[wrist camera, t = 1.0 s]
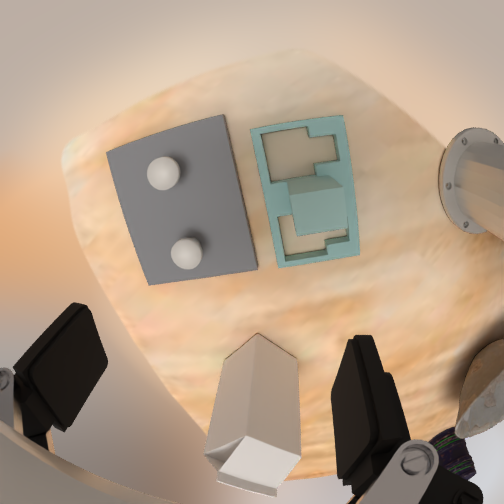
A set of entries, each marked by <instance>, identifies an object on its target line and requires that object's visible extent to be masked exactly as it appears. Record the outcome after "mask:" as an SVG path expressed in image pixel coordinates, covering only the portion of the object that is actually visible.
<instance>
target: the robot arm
mask: <svg viewBox="0 0 504 504" xmlns="http://www.w3.org/2000/svg"><path fill="white" fill-rule="evenodd" d="M439 189H440V196H441V201H442V204H443V207H444V209H445V212H446V214H447V216H448V217H449V218H450V220H451V221H452V222H453V223H454V224H455V225H456V226H457V227H458V228H460V229H461V230H463V231H465V232H468V233H470V234H480V233H484V232H487V231H489V232H491V233H492V234H494V235H495V236H497V237H498V238H500V239H501V240H503V241H504V143H503V142H502V141H501V140H500V139H499V138H498V137H497V135H495V134H494V133H493V132H491V131H489V130H487V129H482V128H469V129H465V130H463V131H462V132H460V133H458V134H457V135H456V136H455V137H454V138H453V139H452V140H451V142H450V143H449V145H448V146H447V149H446V151H445V153H444V155H443V159H442V162H441V166H440V174H439ZM107 365H108V359H107V356H106V353H105V351H104V348H103V345H102V343H101V340H100V337H99V334H98V331H97V328H96V325H95V322H94V319H93V316H92V313H91V311H90V310H89V309H88V306H87V305H84V304H80V303H72V304H71V305H70V306H69V307H67V308H66V310H65V311H64V312H63V313H62V314H61V315H60V316H59V317H58V318H57V319H56V320H55V321H54V322H53V323H52V324H51V325H50V326H49V327H48V328H47V329H46V330H45V331H44V332H43V334H42V335H41V336H40V337H39V338H38V339H37V340H36V341H35V342H34V343H33V344H32V346H31V347H30V348H29V349H28V350H27V351H26V352H25V353H24V355H23V356H22V357H21V358H20V359H19V360H18V362H17V363H16V364H15V365H14V366H13V369H14V370H15V372H16V373H15V375H14V374H13V373H12V371H11V370H10V369H8V368H0V504H181V503H177V502H173V501H169V500H165V499H162V498H158V497H155V496H151V495H148V494H145V493H142V492H139V491H136V490H133V489H130V488H127V487H125V486H122V485H119V484H117V483H114V482H112V481H109V480H106V479H104V478H102V477H100V476H97V475H95V474H93V473H90V472H88V471H86V470H84V469H82V468H80V467H78V466H76V465H74V464H72V463H70V462H68V461H66V460H64V459H62V458H60V457H58V456H57V455H55V450H54V445H53V441H52V435H51V429H50V428H51V426H52V425H53V426H54V427H55V428H57V429H59V430H61V431H63V432H65V431H66V429H67V427H70V426H71V425H72V423H73V422H74V420H75V418H76V417H77V415H78V413H79V412H80V410H81V408H82V407H83V405H84V403H85V402H86V400H87V398H88V396H89V395H90V393H91V391H92V390H93V388H94V387H95V385H96V384H97V382H98V380H99V379H100V377H101V375H102V374H103V372H104V371H105V369H106V368H107ZM331 404H332V414H333V425H334V436H335V449H336V463H337V476H338V479H343V486H345V485H352V493H353V494H354V495H353V497H352V498H351V499H350V500H349V501H348V502H347V504H483V494H482V491H481V489H480V488H479V487H478V486H477V485H476V484H474V483H472V482H470V481H468V480H466V479H464V478H462V477H460V476H458V475H457V474H455V473H453V472H451V471H449V470H447V469H446V468H444V467H442V466H440V465H438V464H439V456H438V454H437V451H436V449H435V448H434V447H433V446H432V445H431V444H430V443H428V442H426V441H423V440H411V438H410V434H409V430H408V427H407V423H406V419H405V416H404V412H403V409H402V406H401V402H400V399H399V396H398V392H397V389H396V386H395V383H394V380H393V377H392V375H391V374H390V373H389V372H384V370H383V366H382V363H381V360H380V357H379V354H378V351H377V348H376V345H375V342H374V339H373V337H372V336H371V335H355V336H354V338H353V339H349V340H348V342H347V345H346V348H345V352H344V355H343V358H342V361H341V364H340V367H339V370H338V373H337V376H336V379H335V382H334V385H333V388H332V391H331Z"/></svg>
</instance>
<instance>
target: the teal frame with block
mask: <svg viewBox="0 0 504 504" xmlns="http://www.w3.org/2000/svg"><path fill="white" fill-rule="evenodd" d="M305 126H307V131H308V136H309V137H317V136H325V135H333V137H334V143H335V149H336V155H337V160H334V161H327V162H320V163H313V164H314V170H315V175H309V176H302V177H296V178H290V179H284V180H278V181H273V182H271V180H270V175H269V171H268V166H267V161H266V156H265V151H264V147H263V142H262V137H261V134H263V133H269V132H274V131H280V130H286V129H292V128H298V127H305ZM250 132H251V136H252V141H253V146H254V150H255V155H256V160H257V164H258V169H259V174H260V178H261V183H262V188H263V193H264V198H265V203H266V207H267V212H268V217H269V222H270V227H271V232H272V237H273V243H274V248H275V253H276V258H277V263H278V268H284V267H290V266H296V265H302V264H309V263H315V262H321V261H327V260H333V259H339V258H345V257H351V256H357V255H360V245H359V230H358V218H357V208H356V198H355V189H354V181H353V173H352V166H351V159H350V152H349V146H348V140H347V134H346V129H345V123H344V118H343V115H339V116H330V117H322V118H314V119H307V120H300V121H294V122H288V123H282V124H276V125H270V126H265V127H260V128H255V129H250ZM291 214H293V219H294V224H295V230H296V235H297V236H302V235H308V234H314V233H320V232H327V231H333V230H339V229H345V228H346V234H347V236H345V237H339V238H333V239H327V240H325V247H326V250H320V251H314V252H307V253H301V254H295V255H289V256H285V254H284V248H283V243H282V237H281V232H280V227H279V221H278V217H279V216H285V215H291Z"/></svg>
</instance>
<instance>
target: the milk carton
mask: <svg viewBox="0 0 504 504" xmlns="http://www.w3.org/2000/svg"><path fill="white" fill-rule="evenodd" d="M204 455H205V457H206V458H207V459H208V460H209V462H210V463H211V464H212V465H213V467H214V468H215V469H216V470H217V471H218V473H217V478H216V481H217V482H220V483H223V484H226V485H230V486H233V487H236V488H239V489H243V490H247V491H250V492H254V493H258V494H262V495H266V496H270V497H276V495H277V488H278V487H279V486H280V484H281V483H282V482H283V481H284V479H285V478H286V477H287V476H288V474H289V473H290V472H291V471H292V469H293V468H294V467H295V465H296V464H297V463H298V461H299V460H300V459H301V428H300V402H299V381H298V363H297V359H296V358H294V357H293V356H291V355H290V354H288V353H287V352H285V351H284V350H282V349H281V348H279V347H278V346H276V345H275V344H273V343H272V342H270V341H269V340H267V339H266V338H264V337H263V336H261V335H259V334H256V335H255V336H254V337H252V338H251V339H250V340H249V341H248V342H246V343H245V344H244V345H243V346H242V347H240V348H239V349H238V350H237V351H236V352H234V353H233V354H232V355H231V356H230V357H228V358H227V359H226V360H225V361H224V363H223V367H222V372H221V376H220V381H219V385H218V390H217V394H216V399H215V403H214V408H213V412H212V417H211V422H210V426H209V431H208V435H207V440H206V444H205V449H204Z"/></svg>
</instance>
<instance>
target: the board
mask: <svg viewBox="0 0 504 504" xmlns="http://www.w3.org/2000/svg"><path fill="white" fill-rule="evenodd" d="M106 154H107V158H108V162H109V166H110V170H111V173H112V177H113V181H114V184H115V188H116V191H117V195H118V198H119V202H120V205H121V208H122V211H123V214H124V218H125V221H126V224H127V227H128V230H129V233H130V236H131V239H132V242H133V244H134V247H135V250H136V253H137V256H138V258H139V261H140V264H141V266H142V269H143V272H144V274H145V277H146V279H147V282H148V285H156V284H163V283H171V282H178V281H185V280H192V279H199V278H206V277H213V276H220V275H227V274H233V273H240V272H247V271H253V270H258V262H257V258H256V253H255V249H254V245H253V240H252V236H251V231H250V227H249V222H248V218H247V213H246V209H245V204H244V200H243V196H242V191H241V187H240V182H239V178H238V173H237V169H236V165H235V160H234V156H233V151H232V147H231V143H230V138H229V134H228V129H227V125H226V121H225V116H224V115H218V116H214V117H210V118H207V119H203V120H199V121H196V122H192V123H188V124H185V125H182V126H178V127H175V128H172V129H169V130H166V131H162V132H159V133H156V134H153V135H150V136H148V137H145V138H142V139H139V140H136V141H134V142H131V143H128V144H126V145H123V146H120V147H118V148H115V149H113V150H110V151H108V152H106Z"/></svg>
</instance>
